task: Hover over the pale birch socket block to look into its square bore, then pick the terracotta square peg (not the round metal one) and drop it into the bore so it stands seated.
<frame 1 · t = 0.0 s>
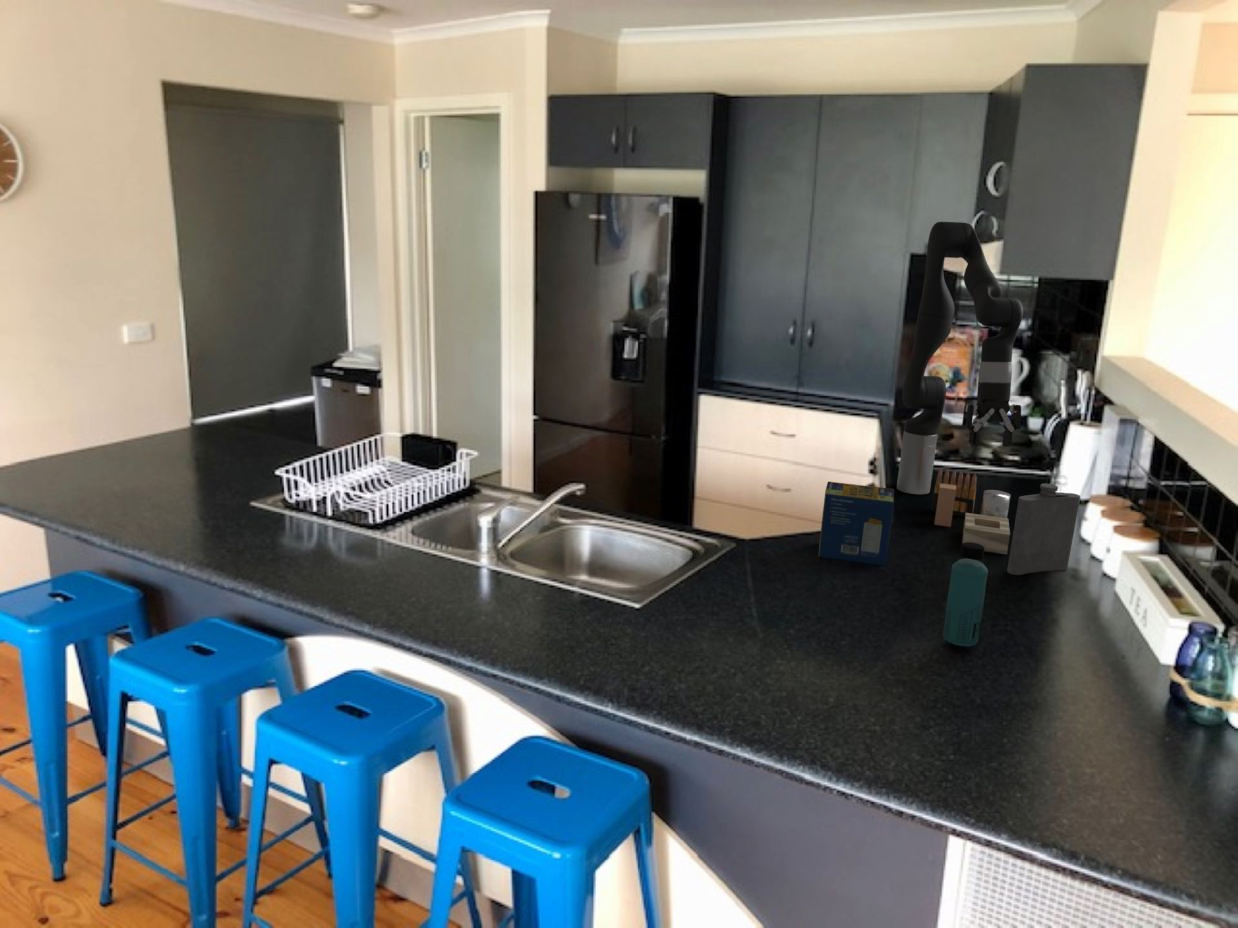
hand: (989, 446, 235), 22 cm above the worktop, tool pointing down, fingers open, 8 cm apart
beverage bottle: (958, 647, 177), on the worktop
hip flask: (1035, 570, 217), on the worktop
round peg: (991, 527, 245), on the worktop
square peg: (942, 523, 247), on the worktop
ammunition clip: (951, 514, 255), on the worktop
socket block: (984, 542, 233), on the worktop
protein box: (852, 555, 222), on the worktop
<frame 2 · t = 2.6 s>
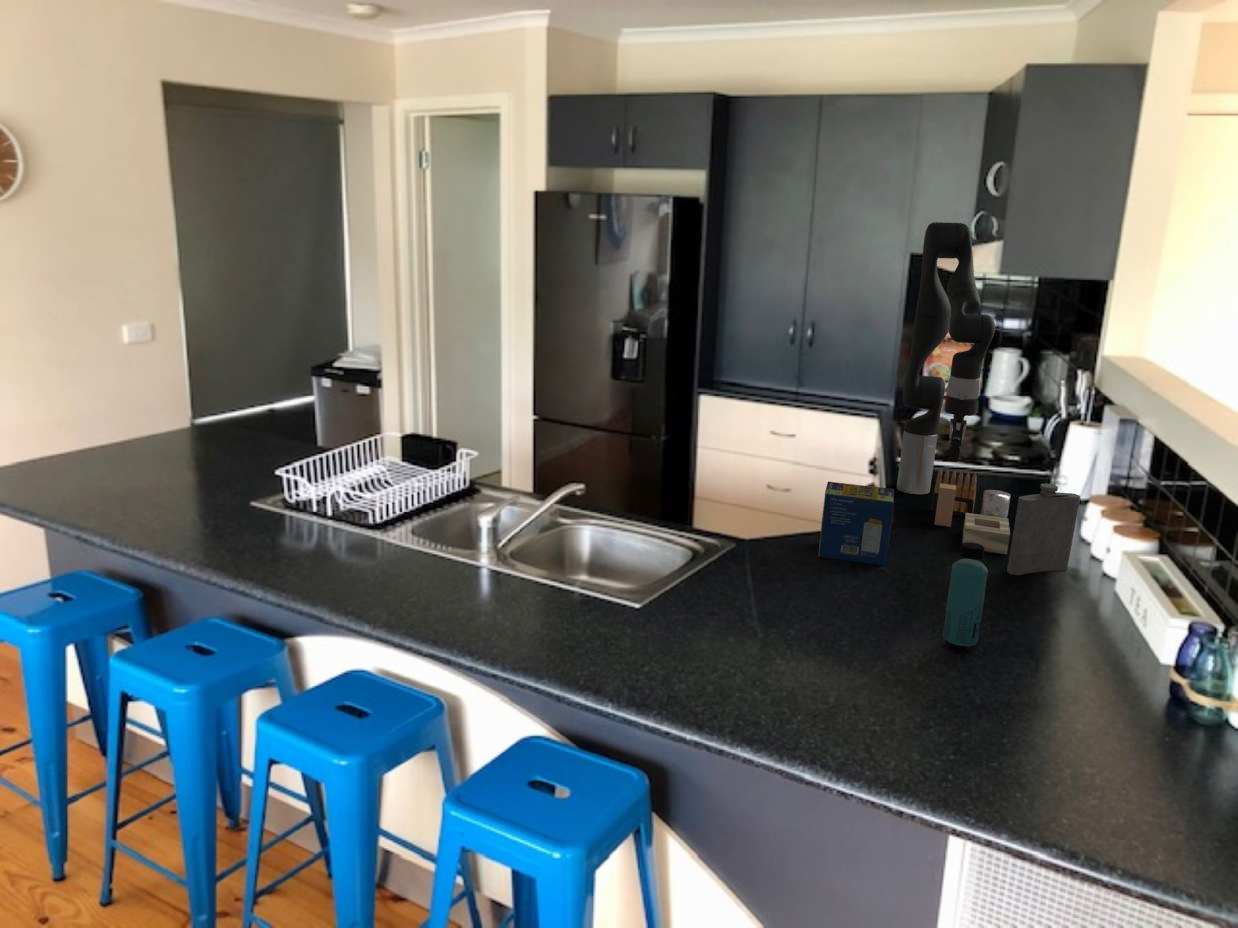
hand: (953, 457, 242), 18 cm above the worktop, tool pointing down, fingers open, 8 cm apart
nothing on the worktop moved.
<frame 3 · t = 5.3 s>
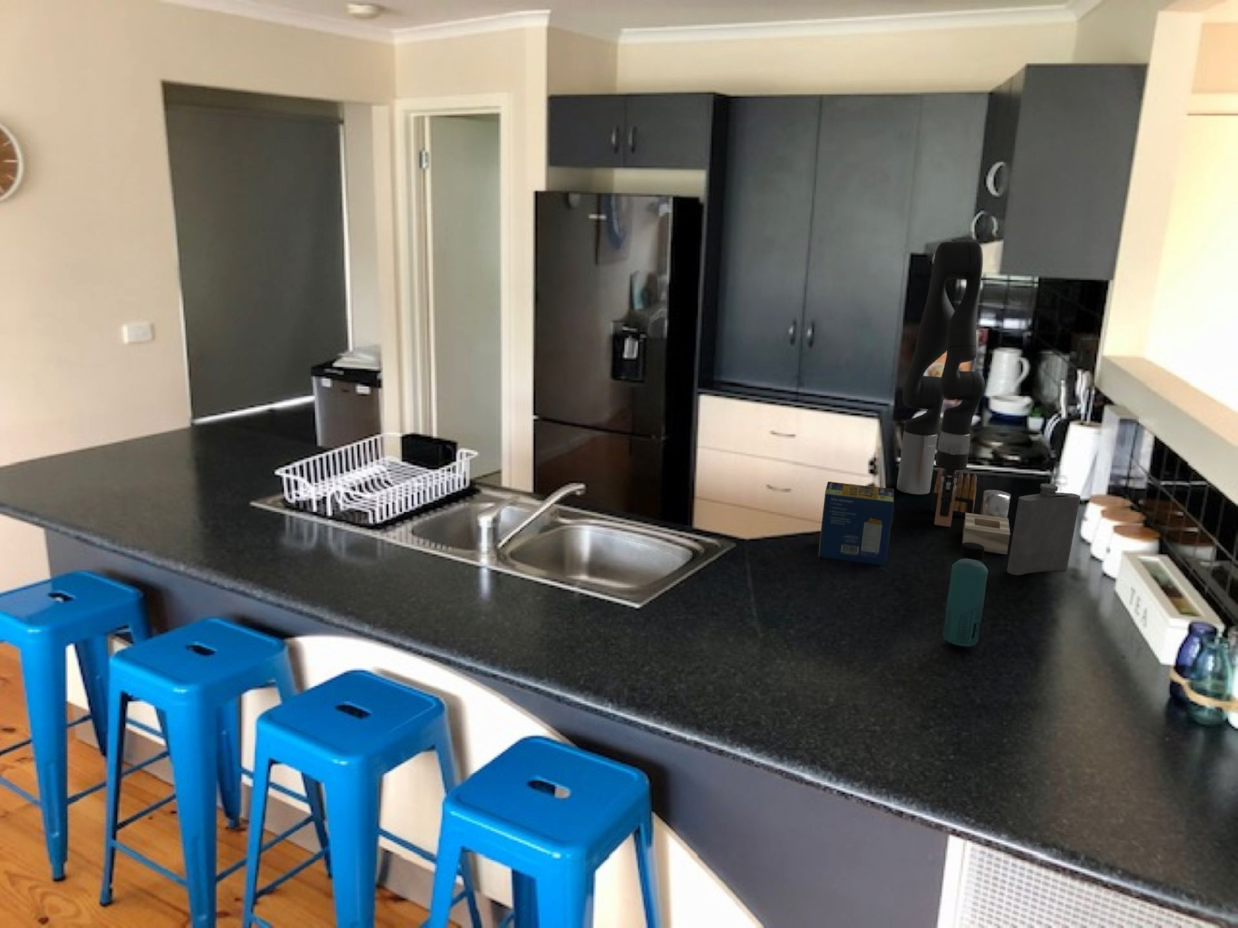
hand: (944, 513, 246), 3 cm above the worktop, tool pointing down, fingers closed on square peg, 4 cm apart
square peg: (942, 523, 247), on the worktop, touching gripper
everything else where it was.
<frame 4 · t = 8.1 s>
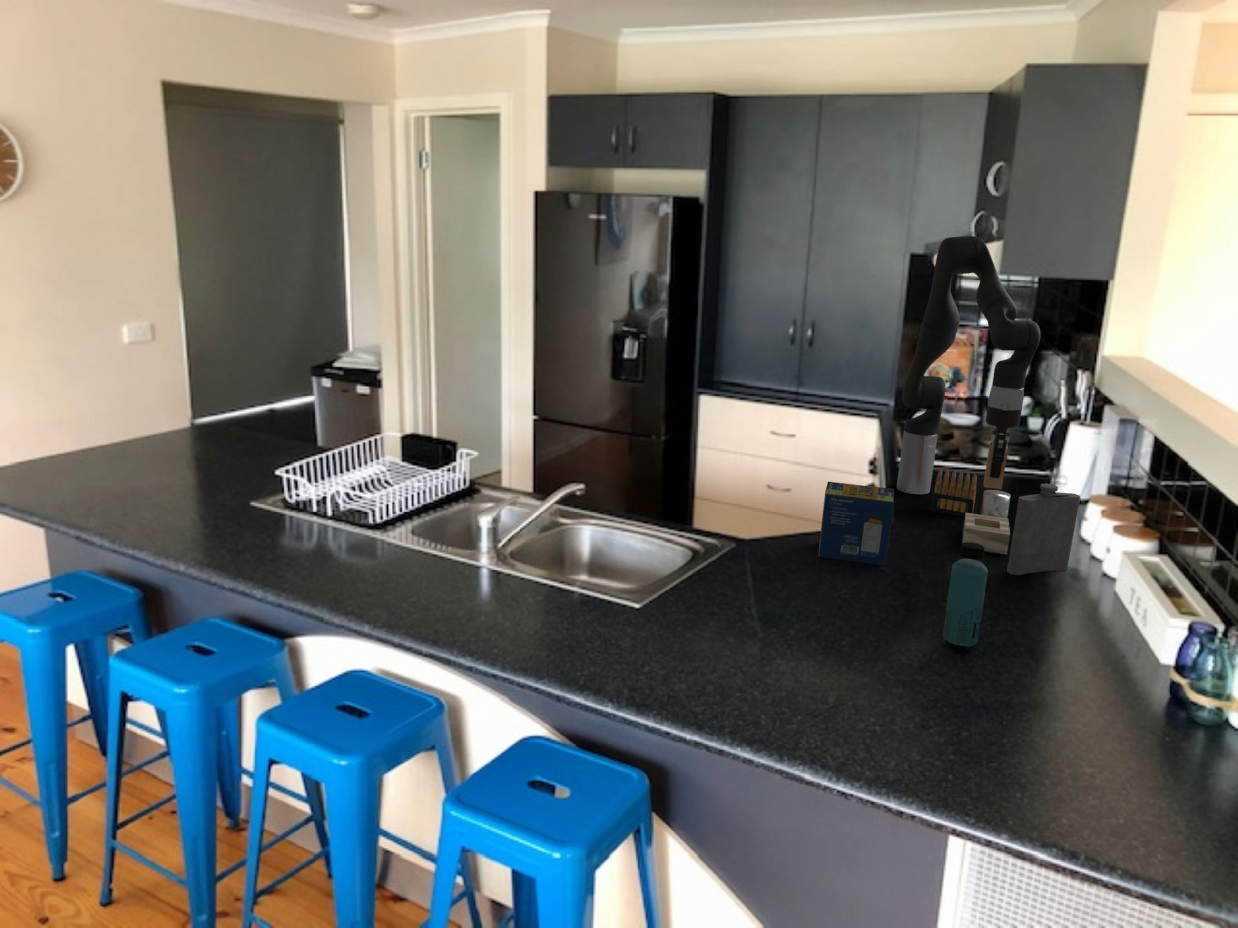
hand: (994, 474, 229), 17 cm above the worktop, tool pointing down, fingers closed on square peg, 4 cm apart
square peg: (992, 485, 230), point 14 cm above the worktop, touching gripper
everything else where it was.
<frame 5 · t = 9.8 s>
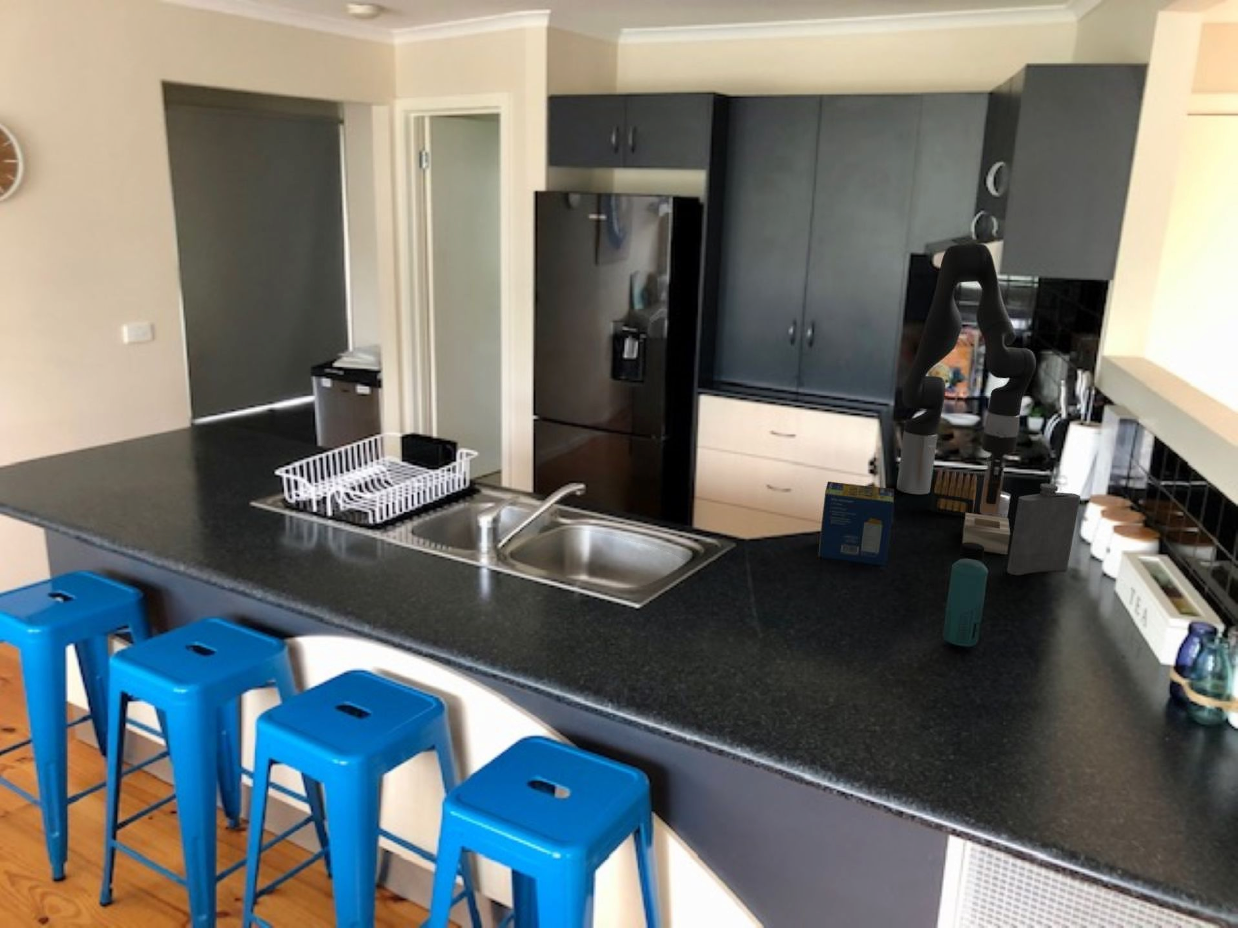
hand: (990, 500, 230), 11 cm above the worktop, tool pointing down, fingers closed on square peg, 4 cm apart
square peg: (988, 511, 231), point 8 cm above the worktop, touching gripper
everything else where it was.
when the fingers open (6 cm above the worktop, at t = 11.2 s): square peg drops 2 cm, resting on socket block.
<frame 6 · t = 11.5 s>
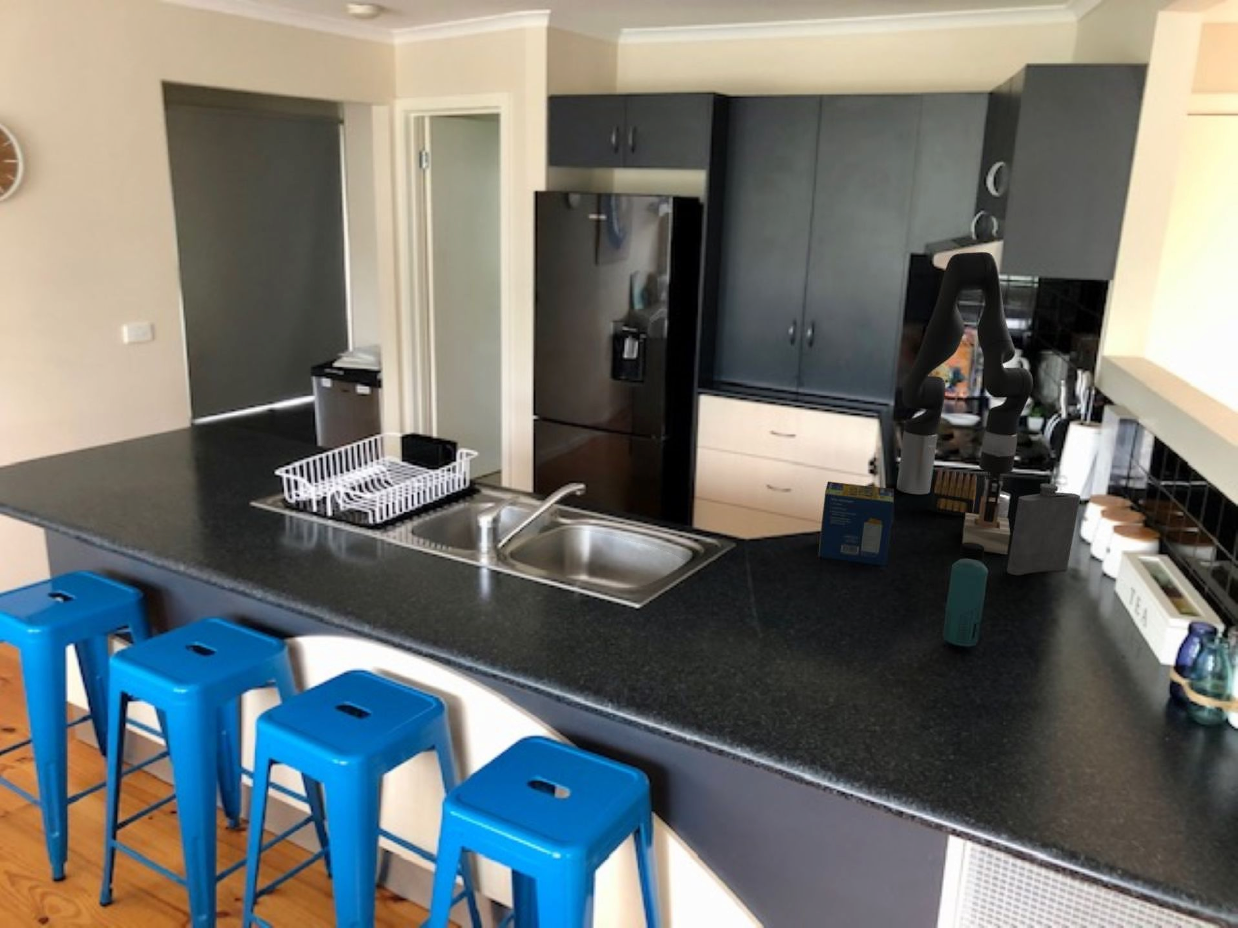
hand: (988, 517, 232), 7 cm above the worktop, tool pointing down, fingers open, 6 cm apart
square peg: (984, 538, 233), point 1 cm above the worktop, touching socket block
everything else where it was.
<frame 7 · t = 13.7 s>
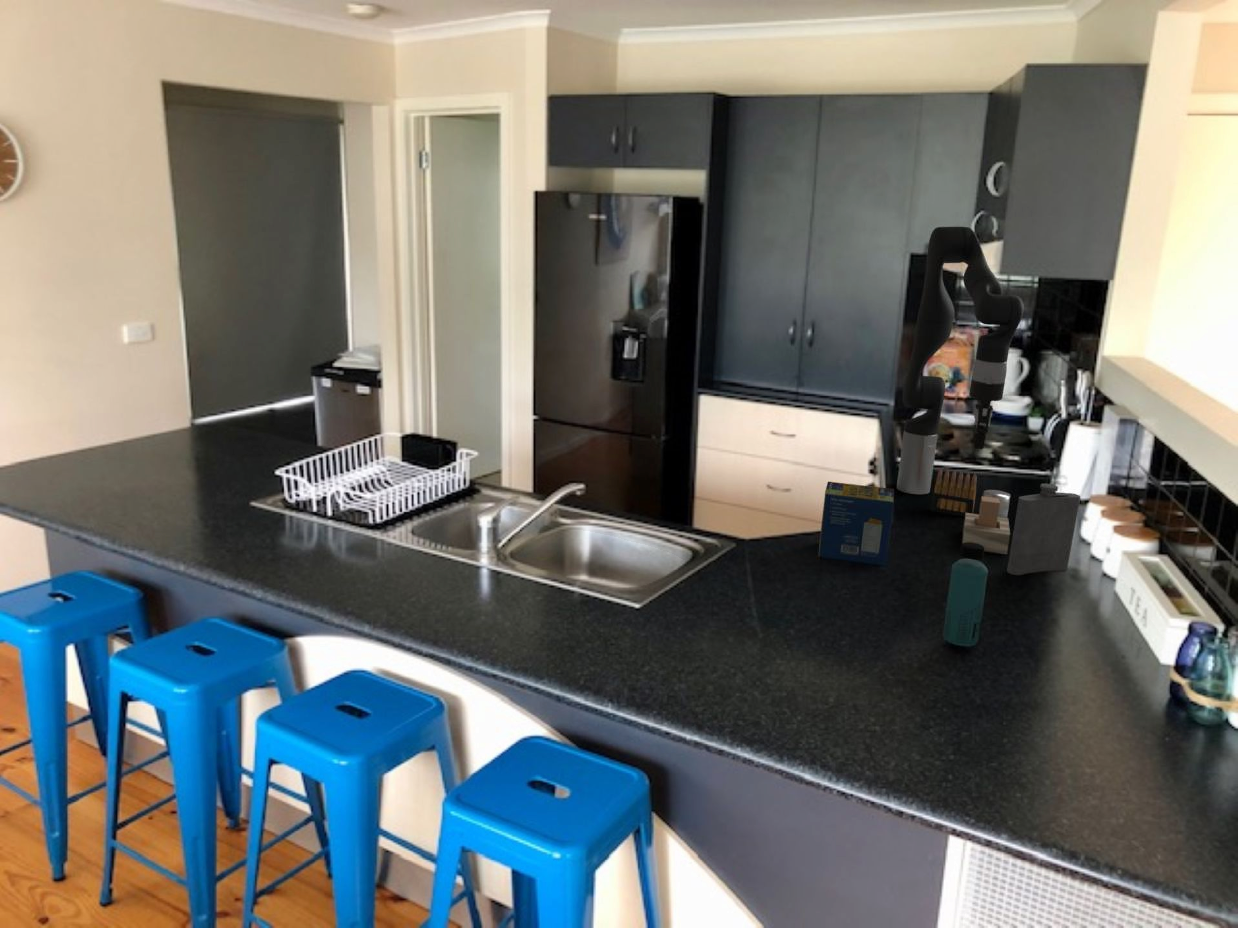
hand: (978, 444, 232), 23 cm above the worktop, tool pointing down, fingers open, 8 cm apart
nothing on the worktop moved.
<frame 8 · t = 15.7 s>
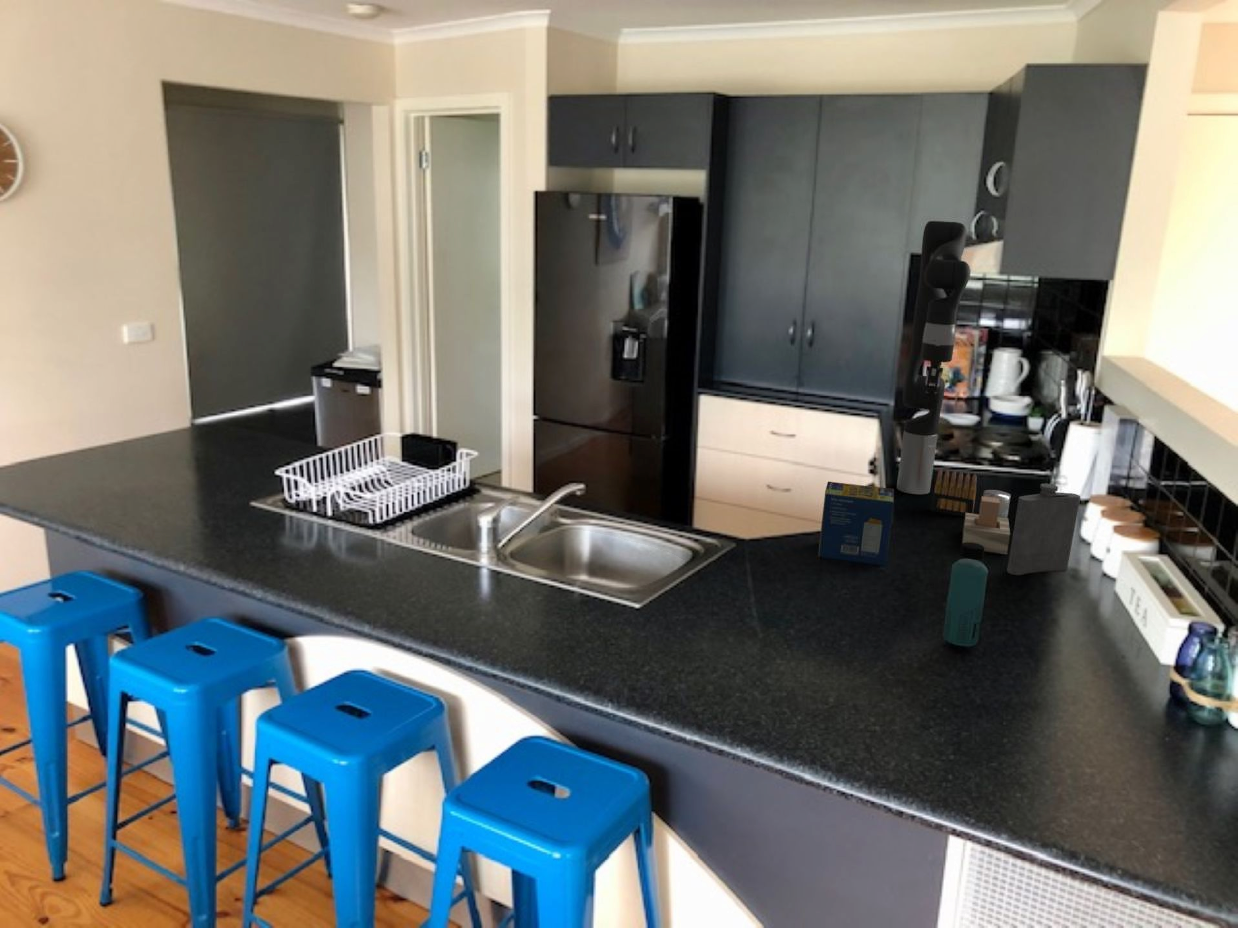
hand: (929, 405, 243), 30 cm above the worktop, tool pointing down, fingers open, 8 cm apart
nothing on the worktop moved.
at the end: square peg 0.1 cm off-centre on the socket block, point 1.0 cm above the socket block's base; square peg tilted 0°; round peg moved 0.0 cm from its start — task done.
